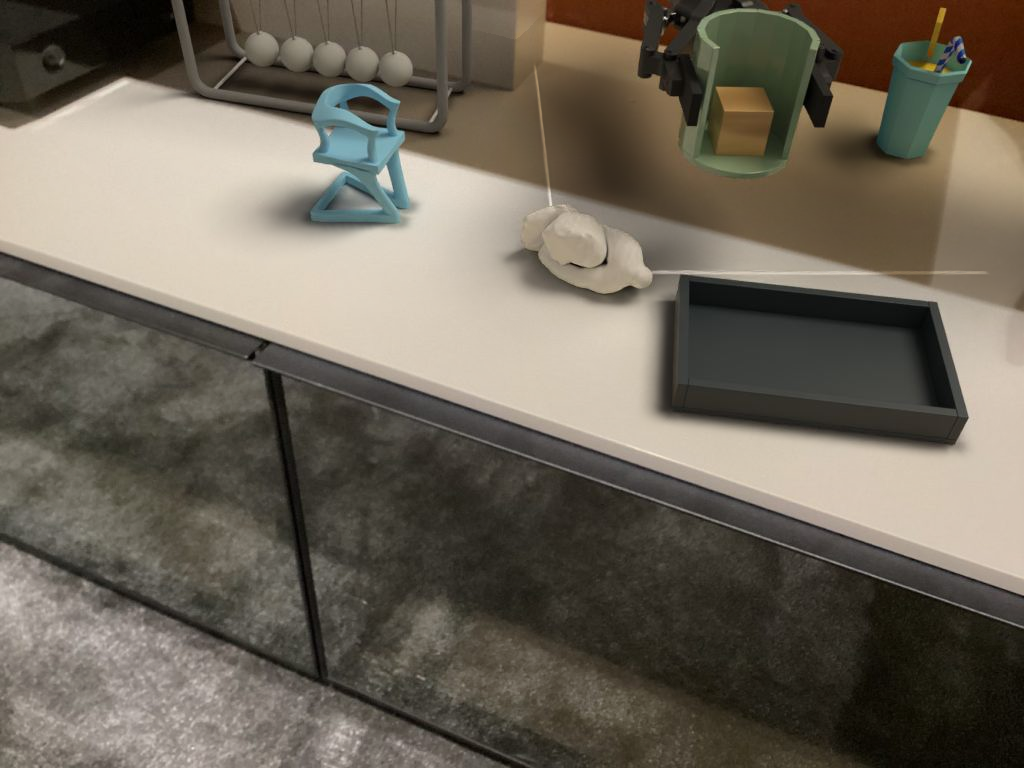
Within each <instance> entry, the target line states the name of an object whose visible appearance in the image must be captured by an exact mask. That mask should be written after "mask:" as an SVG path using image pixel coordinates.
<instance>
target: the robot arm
mask: <svg viewBox="0 0 1024 768" xmlns="http://www.w3.org/2000/svg"><path fill="white" fill-rule="evenodd" d="M667 1H668V3H669V7H670V8H668V7H667V6H665V5H664V6H663V5H661V4H660V2H659V1H657V0H646V1H645V3H644V5H645V6H644V10H643V11H644V12H643V18H642V19H643V21H642V26H641V27H642V28H641V29H642V30H641V31H642V32H643V37H642V40H641V45H640V49H639V58H638V66H637V73H636V74H637V75H636V76H637V77H638V78H640V79H645V80H647V79H650V78H652V76H653V75H654V76H658V77H659V83H658V89H659V90H660V91H662V92H665V93H666V95H668V96H669V97H678V101H679V104H680V108H681V111H682V113H683V114H684V117H685V121H686V124H687V126H697V123H698V117H699V112H700V107H701V101H702V96H703V93H702V90H701V87H700V84H699V81H698V78H697V75H696V73H695V70H694V67H693V64H692V61H691V60H692V54H693V48H694V42H695V36H696V30H697V27H698V25H699V23H700V22H701V20H702V19H703V18H704V17H706V16H708V15H710V14H712V13H714V12H717V11H723V10H729V9H737V8H738V9H757V11H758V9H761V10H767V11H770V8H769V7H768V5H767V4H765V3H764V2H762V1H761V0H667ZM771 11H772V12H778V13H779V14H780V13H782V14H785V15H788V16H790V17H793V18H796V19H798V20H799V21H802V22H804V23H805V24H806V25H808V26H809V27H811V28H812V29H814V30H815V32H816V33H817V35H818V37H819V39H820V45H819V48H818V52H817V56H816V60H815V63H814V67H813V71H812V75H811V79H810V82H809V86H808V90H807V94H806V97H805V101H804V105H803V108H804V110H805V112H806V114H807V115H808V117H809V119H810V121H811V124H812V125H813V127H814V129H825V126H826V123H827V120H828V116H829V113H830V109H831V106H832V103H833V98H834V94H833V92H832V90H831V88H832V83H834V82H835V81H836V79H837V76H838V73H839V69H840V66H841V62H842V59H843V55H844V50H843V49H842V48H841V47H840V46H839V45H838V44H836V42H835V41H833V40H832V39H831V38H830V37H829V36H827V34H825V33H824V31H822V30H821V29H820V28H819V27H817V25H816V24H815V23H813V22H812V21H811V20H810V19H809V18H808V17H806V16H805V15H804V14H803V10H802V7H801V5H800V4H798V3H795V2H788V3H787V4H786V6H785V8H783V9H782V10H780V11H779V10H771ZM670 25H672V27H673V28H674V29H676V30H677V31H679V32H678V33H677V34H676V35H675V37H674V38H673V39H672V40H671V42H670V43H668V44H667V46H666V47H665V49H664V50H663V52H662V51H659V47H660V44H661V38H662V36H664V35H665V30H667V29H669V26H670Z"/></svg>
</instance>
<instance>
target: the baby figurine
mask: <svg viewBox="0 0 1024 768" xmlns="http://www.w3.org/2000/svg"><path fill="white" fill-rule="evenodd" d="M523 223H524V224H523V225H522V227H521V228H520V230H519V232H520V241H521V243H522V244H523V245H524V247H525V248H526V249H527V250H530V251H532V252H533V251H534V252H538V255H537V256H538V260H539V261H540V262H541V264H542V265H543V266H545V268H546V269H548V271H549V272H550V273H551V274H552V275H554V276H555V277H556V278H557V279H560V280H562V281H564V282H566V283H567V284H570V285H572V286H575V287H577V288H581V289H587V290H590V291H592V292H595V293H597V294H603V295H605V294H606V295H607V294H613V293H616V292H618V291H621V290H623V289H624V288H626V287H628V286H632V287H634V288H636V289H645V288H648V287H649V286H650V284H651V283H652V282H653V272H652V270H650V268H649V267H647V266H646V265H645V263H644V258H643V249H642V246H641V245H640V244H639V242H638V241H637V240H636V239H635V238H634V237H633V236H632V235H630V234H628V233H626V232H624V231H622V230H621V229H617V228H615V227H611V226H609V225H605V224H603V225H602V224H601V223H600V222H599V221H598V220H597V219H596V218H594V217H593V216H591V215H589V214H585V213H581V212H580V213H579V211H577V210H576V208H574V207H572V206H571V205H570V204H567V203H563V204H556V205H555V206H553V205H551V206H550V205H549V206H546V207H544V208H542V209H539V210H537V211H536V212H533V213H530V214H527V215H525V216H524V217H523ZM605 260H606V262H607V263H606V264H603V262H604V261H605ZM571 263H572V264H571ZM574 264H575V265H574ZM577 265H578V266H577ZM579 266H580V267H579Z"/></svg>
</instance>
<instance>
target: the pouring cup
mask: <svg viewBox="0 0 1024 768" xmlns="http://www.w3.org/2000/svg"><path fill="white" fill-rule="evenodd" d="M772 11H773V10H769V11H767V10H761V9H758V11H757V9H738V8H737V9H729V10H723V11H717V12H714V13H712V14H710V15H708V16H706V17H704V18H703V19H702V20H701V22H700V23H699V25H698V27H697V30H696V36H695V42H694V48H693V54H692V59H691V61H692V64H693V67H694V70H695V73H696V75H697V78H698V81H699V84H700V87H701V90H702V93H703V96H702V101H701V107H700V112H699V117H698V123H697V126H687V124H686V121H685V117H684V114H683V112H682V114H681V119H680V126H679V131H678V149H679V152H680V154H681V155H682V156H683V158H684V159H685V160H686V161H687V162H689V163H690V164H691V165H693V166H694V167H696V168H697V169H699V170H701V171H704V172H706V173H708V174H711V175H714V176H717V177H721V178H726V179H727V178H728V179H735V180H756V179H761V178H767V177H770V176H772V175H775V174H777V173H779V172H780V171H782V170H783V169H784V168H785V167H786V165H787V164H788V162H789V161H790V160H789V159H790V157H791V152H792V150H793V146H794V142H795V138H796V135H797V131H798V127H799V124H800V120H801V115H802V112H803V108H804V101H805V97H806V94H807V90H808V86H809V82H810V79H811V75H812V71H813V67H814V63H815V60H816V56H817V52H818V48H819V45H820V39H819V37H818V35H817V33H816V32H815V30H814V29H812V28H811V27H809V26H808V25H806V24H805V23H804V22H802V21H799V20H798V19H796V18H793V17H790V16H788V15H785V14H782V13H780V14H779V13H778V12H772ZM715 87H763V88H764V90H765V92H766V95H767V97H768V99H769V101H770V104H771V106H772V108H773V111H774V114H773V118H772V122H771V126H770V130H769V135H768V139H767V143H766V147H765V151H764V155H763V156H742V155H715V153H714V150H713V146H712V143H711V140H710V137H709V134H708V131H707V128H708V122H709V117H710V112H711V107H712V102H713V96H714V91H715Z"/></svg>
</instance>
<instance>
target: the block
mask: <svg viewBox="0 0 1024 768" xmlns="http://www.w3.org/2000/svg"><path fill="white" fill-rule="evenodd" d="M773 114H774V111H773V108H772V106H771V104H770V101H769V99H768V97H767V95H766V92H765V90H764V88H763V87H715V91H714V96H713V102H712V107H711V112H710V117H709V122H708V128H707V131H708V134H709V137H710V140H711V143H712V146H713V150H714V153H715V155H742V156H763V155H764V151H765V147H766V143H767V139H768V135H769V130H770V126H771V122H772V118H773Z"/></svg>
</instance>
